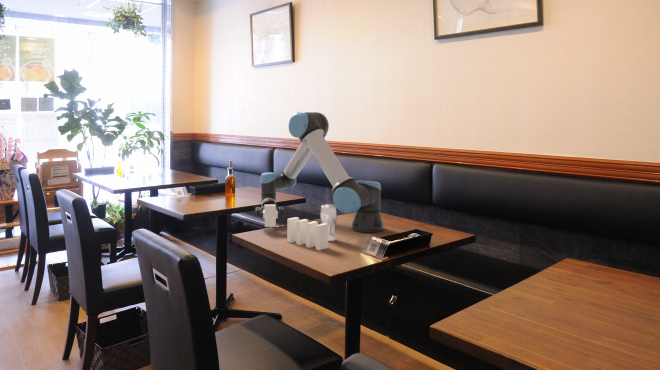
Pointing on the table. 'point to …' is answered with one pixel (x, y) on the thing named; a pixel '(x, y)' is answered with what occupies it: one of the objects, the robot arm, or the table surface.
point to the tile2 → (291, 229)
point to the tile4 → (311, 234)
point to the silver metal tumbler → (329, 219)
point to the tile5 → (321, 236)
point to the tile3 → (301, 231)
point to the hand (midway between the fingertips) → (270, 215)
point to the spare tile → (270, 215)
